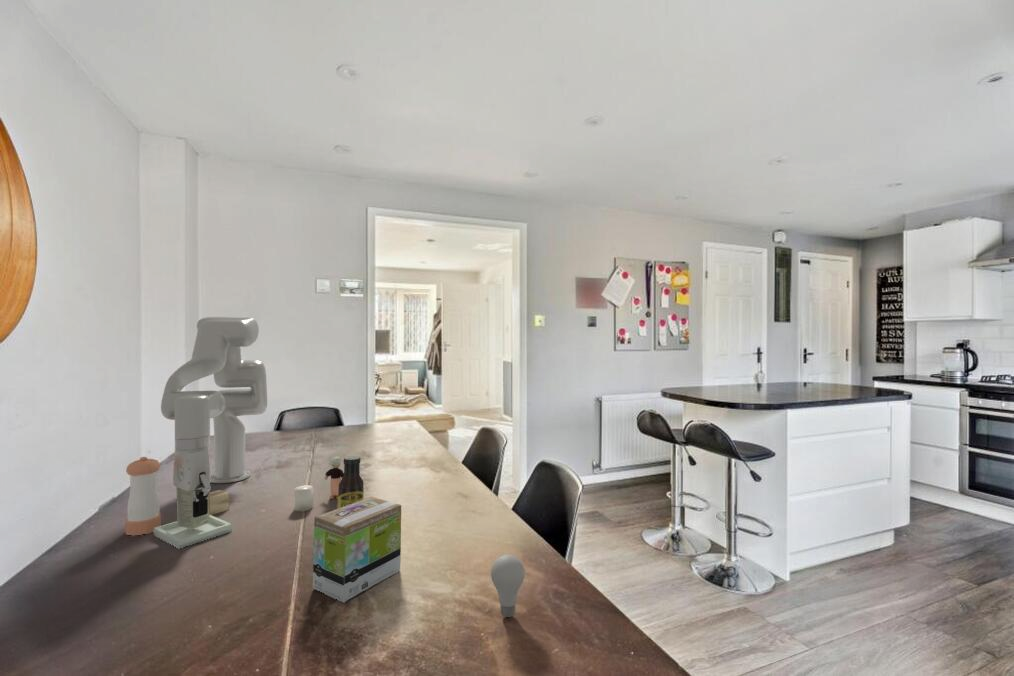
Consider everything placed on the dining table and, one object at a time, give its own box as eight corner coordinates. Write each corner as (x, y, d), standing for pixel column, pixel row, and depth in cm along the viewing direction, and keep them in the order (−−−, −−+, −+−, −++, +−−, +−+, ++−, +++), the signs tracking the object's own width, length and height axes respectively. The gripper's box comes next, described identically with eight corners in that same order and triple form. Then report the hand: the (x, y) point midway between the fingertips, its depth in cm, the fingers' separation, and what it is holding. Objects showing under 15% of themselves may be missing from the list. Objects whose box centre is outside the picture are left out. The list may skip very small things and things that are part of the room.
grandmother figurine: (350, 495, 147) (350, 455, 147) (344, 499, 144) (344, 458, 144) (326, 494, 148) (326, 455, 148) (320, 498, 144) (320, 458, 144)
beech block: (201, 511, 134) (201, 494, 134) (220, 506, 138) (220, 489, 138) (210, 515, 131) (210, 497, 131) (228, 509, 136) (228, 492, 136)
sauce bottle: (338, 543, 114) (338, 462, 113) (335, 533, 119) (334, 456, 119) (365, 537, 117) (365, 459, 117) (361, 528, 122) (361, 453, 122)
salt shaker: (167, 527, 123) (167, 455, 123) (135, 538, 116) (135, 462, 116) (151, 522, 126) (150, 452, 126) (119, 533, 119) (119, 458, 119)
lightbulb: (490, 607, 87) (490, 549, 87) (522, 606, 87) (522, 548, 87) (491, 628, 81) (491, 565, 81) (526, 626, 81) (526, 564, 81)
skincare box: (210, 523, 120) (209, 476, 120) (194, 529, 116) (193, 481, 116) (192, 519, 122) (192, 473, 122) (175, 526, 118) (175, 478, 118)
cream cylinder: (290, 509, 136) (290, 488, 136) (306, 504, 140) (306, 484, 140) (301, 512, 133) (301, 492, 133) (316, 507, 137) (316, 487, 137)
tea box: (345, 605, 88) (344, 527, 88) (311, 589, 93) (311, 516, 93) (402, 571, 100) (402, 502, 100) (370, 559, 106) (370, 494, 106)
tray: (153, 535, 118) (153, 527, 118) (205, 519, 128) (205, 512, 128) (178, 549, 110) (178, 541, 110) (231, 531, 120) (231, 523, 120)
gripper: (160, 441, 121) (161, 510, 121) (192, 451, 111) (192, 525, 111) (192, 436, 127) (193, 501, 127) (225, 444, 118) (225, 514, 118)
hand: (193, 511), depth 119 cm, fingers closed on skincare box, 6 cm apart
